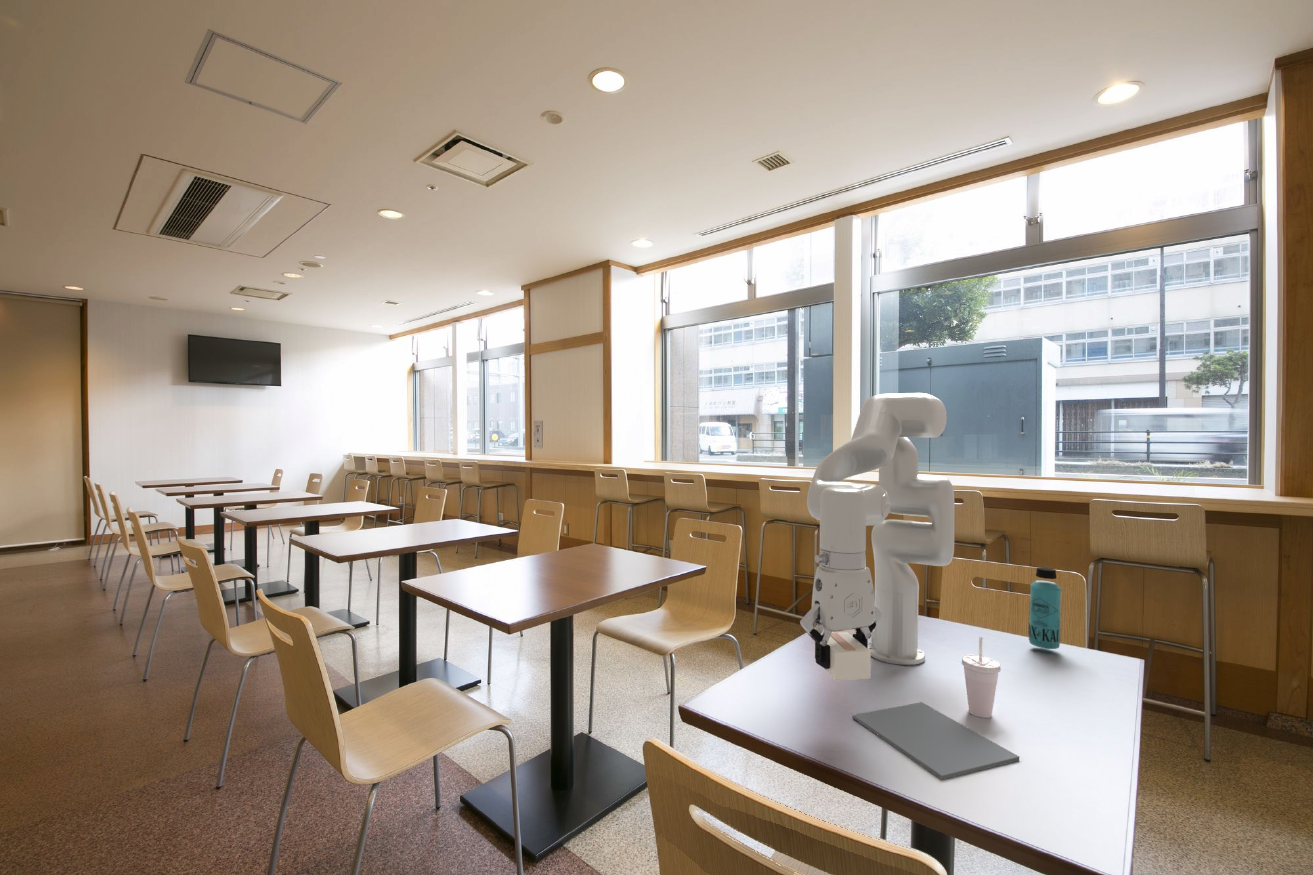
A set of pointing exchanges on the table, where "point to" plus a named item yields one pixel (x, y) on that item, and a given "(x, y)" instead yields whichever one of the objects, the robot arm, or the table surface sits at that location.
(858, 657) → the card box
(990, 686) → the smoothie
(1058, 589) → the beverage bottle
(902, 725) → the mat
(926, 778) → the table surface
